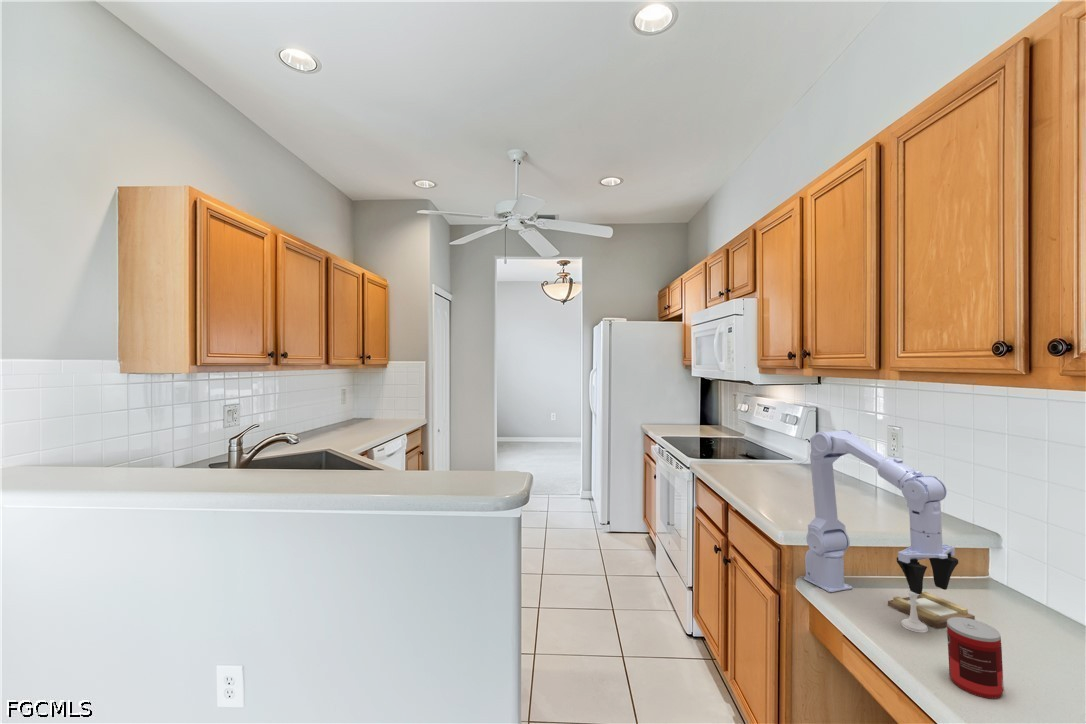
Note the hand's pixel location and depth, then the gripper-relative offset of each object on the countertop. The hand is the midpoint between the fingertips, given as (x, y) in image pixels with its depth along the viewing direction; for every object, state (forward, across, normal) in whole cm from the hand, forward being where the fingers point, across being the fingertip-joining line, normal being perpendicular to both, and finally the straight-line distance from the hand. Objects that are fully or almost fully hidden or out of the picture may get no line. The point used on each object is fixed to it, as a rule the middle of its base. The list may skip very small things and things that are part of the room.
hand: (928, 590), depth 109 cm
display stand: (+10, +10, +8) cm, 16 cm away
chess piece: (+10, 0, +4) cm, 11 cm away
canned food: (+10, -10, -16) cm, 21 cm away
